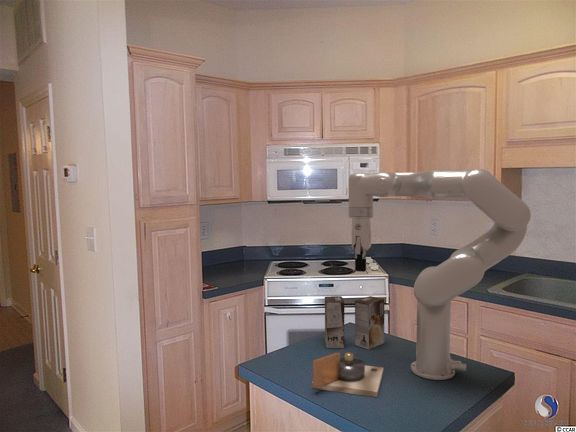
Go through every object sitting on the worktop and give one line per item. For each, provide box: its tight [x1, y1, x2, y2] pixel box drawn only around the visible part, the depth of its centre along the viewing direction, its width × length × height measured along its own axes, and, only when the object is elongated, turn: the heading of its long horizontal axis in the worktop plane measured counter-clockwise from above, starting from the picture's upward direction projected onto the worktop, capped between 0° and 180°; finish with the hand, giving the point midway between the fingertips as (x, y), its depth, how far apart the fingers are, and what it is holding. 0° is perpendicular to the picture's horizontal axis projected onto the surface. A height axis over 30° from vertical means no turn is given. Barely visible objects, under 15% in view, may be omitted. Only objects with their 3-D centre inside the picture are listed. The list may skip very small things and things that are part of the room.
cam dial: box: [312, 351, 366, 388], centre depth 124 cm, size 18×9×7 cm, turn 127°
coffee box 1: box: [324, 295, 346, 349], centre depth 155 cm, size 9×6×16 cm
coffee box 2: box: [354, 295, 385, 350], centre depth 154 cm, size 9×6×16 cm
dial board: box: [311, 364, 384, 398], centre depth 127 cm, size 18×16×2 cm
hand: (360, 270), depth 138 cm, fingers closed
